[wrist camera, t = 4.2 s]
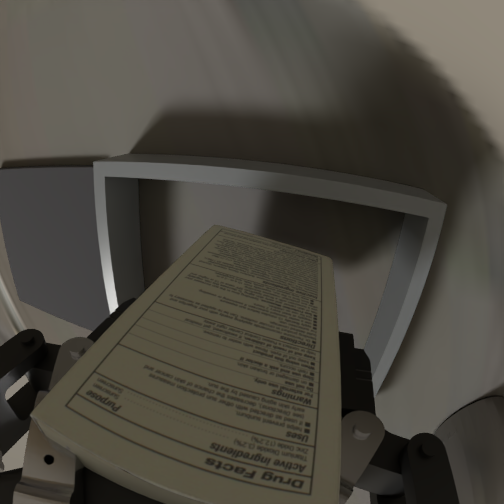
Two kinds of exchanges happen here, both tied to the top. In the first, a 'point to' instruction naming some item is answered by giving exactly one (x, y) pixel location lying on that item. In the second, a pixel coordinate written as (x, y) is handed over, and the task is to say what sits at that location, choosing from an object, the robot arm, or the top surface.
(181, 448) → the skincare box
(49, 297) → the place mat
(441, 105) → the top surface
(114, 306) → the parts bin
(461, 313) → the top surface
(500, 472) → the robot arm
